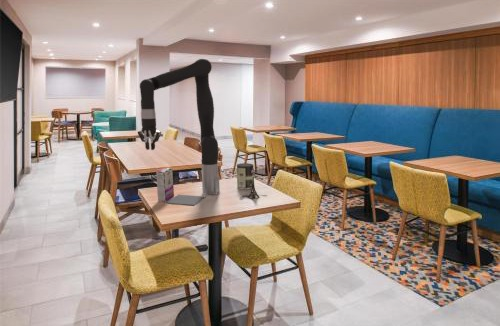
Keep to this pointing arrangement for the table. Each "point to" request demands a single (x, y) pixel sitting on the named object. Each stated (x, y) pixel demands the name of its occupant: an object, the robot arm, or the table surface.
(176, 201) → the place mat
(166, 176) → the candy bar box
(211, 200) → the table surface
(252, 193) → the eiffel tower figurine
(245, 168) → the coffee can
